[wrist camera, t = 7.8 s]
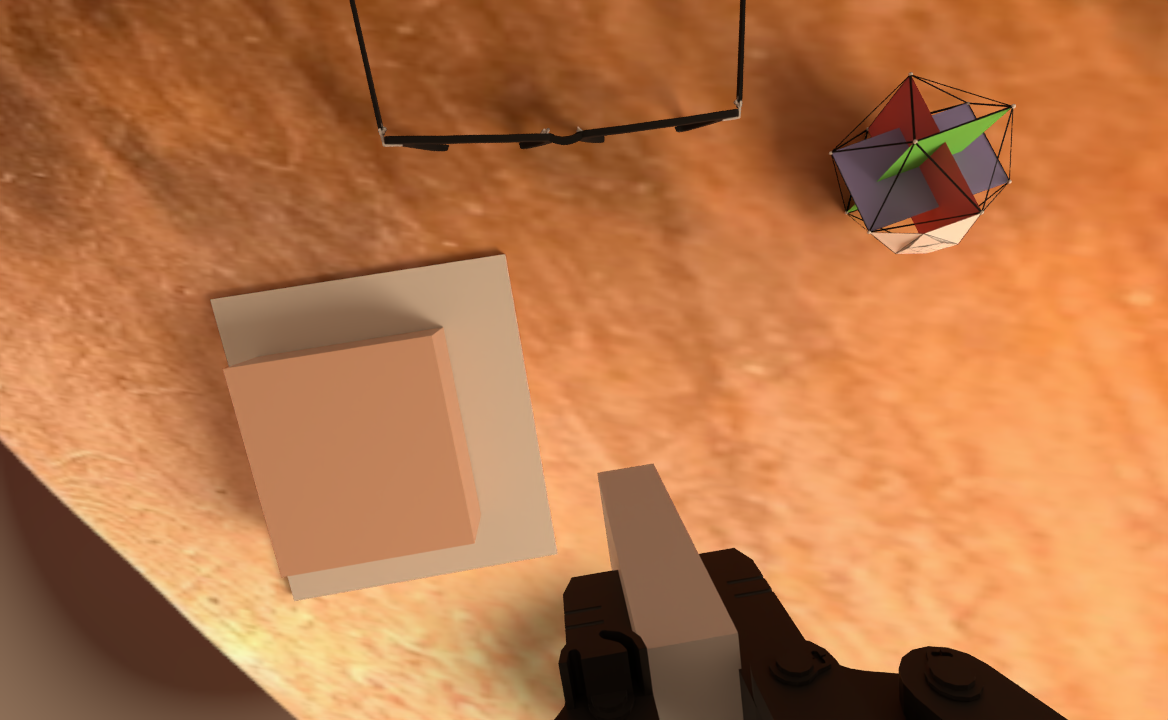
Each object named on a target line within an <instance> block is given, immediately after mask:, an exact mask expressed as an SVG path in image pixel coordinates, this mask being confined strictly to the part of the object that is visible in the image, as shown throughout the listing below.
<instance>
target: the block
mask: <svg viewBox="0 0 1168 720" xmlns="http://www.w3.org/2000/svg"><path fill="white" fill-rule="evenodd" d="M223 372H224V375H225V379H226V382H227V386H228V389H229V393H230V396H231V400H232V404H233V407H234V411H235V414H236V418H237V421H238V425H239V428H240V432H241V435H242V439H243V443H244V446H245V450H246V453H247V457H248V460H249V464H250V467H251V471H252V475H253V478H254V482H255V485H256V489H257V492H258V496H259V499H260V503H261V506H262V510H263V514H264V517H265V521H266V524H267V528H268V531H269V535H270V538H271V542H272V546H273V549H274V553H275V556H276V560H277V563H278V567H279V570H280V574H281V578H282V577H287V576H293V575H299V574H304V573H310V572H316V571H321V570H327V569H333V568H338V567H344V566H350V565H355V564H361V563H367V562H372V561H378V560H384V559H389V558H395V557H401V556H406V555H412V554H418V553H423V552H429V551H435V550H440V549H446V548H452V547H457V546H463V545H469V544H474V543H475V540H476V535H477V531H478V527H479V523H480V518H481V511H480V506H479V501H478V496H477V491H476V486H475V481H474V476H473V471H472V466H471V461H470V456H469V451H468V446H467V441H466V436H465V431H464V426H463V421H462V416H461V411H460V406H459V401H458V396H457V391H456V386H455V381H454V376H453V372H452V367H451V362H450V357H449V352H448V347H447V342H446V337H445V332H444V327H441V328H434V329H428V330H422V331H415V332H409V333H403V334H396V335H390V336H384V337H378V338H371V339H365V340H359V341H352V342H346V343H340V344H334V345H327V346H321V347H315V348H308V349H302V350H296V351H289V352H283V353H277V354H271V355H264V356H258V357H255V358H252V359H249V360H246V361H244V362H241V363H238V364H235V365H232V366H229V367H227V368H224V369H223Z"/></svg>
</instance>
